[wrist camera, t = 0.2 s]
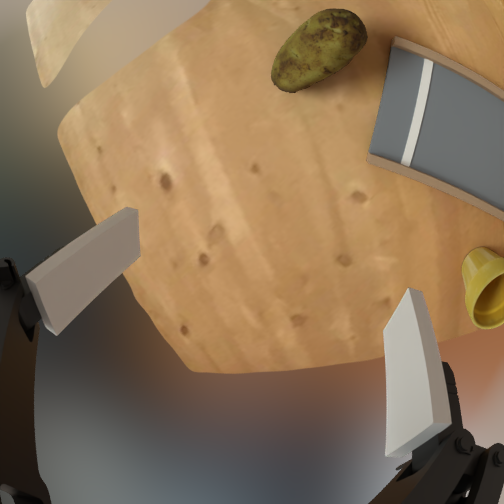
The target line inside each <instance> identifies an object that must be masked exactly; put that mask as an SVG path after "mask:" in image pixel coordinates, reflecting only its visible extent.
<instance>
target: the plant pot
mask: <svg viewBox="0 0 504 504" xmlns="http://www.w3.org/2000/svg"><path fill="white" fill-rule="evenodd" d="M462 276H463V280H464V284H465V289H466V294H465V304H466V308H467V310H468V313H469V315H470V318H471V320H472V322H473V323H474V324H475V325H476V326H477V327H479V328H481V329H492V328H495V327H498V326H500V325H502V324H504V257H500V256H499V255H497V254H496V253H494V252H493V251H491V250H490V249H488V248H486V247H478V248H476V249H474V250H472V251H471V252H470V253H469V254H468V255H467V256H466V258H465V259H464V261H463V264H462Z"/></svg>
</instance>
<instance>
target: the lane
mask: <svg viewBox="0 0 504 504" xmlns="http://www.w3.org/2000/svg"><path fill="white" fill-rule="evenodd" d="M366 160H367V162H368V163H369V164H372V165H375V166H378V167H381V168H384V169H387V170H389V171H392V172H395V173H398V174H400V175H403V176H406V177H408V178H411V179H414V180H416V181H419V182H421V183H424V184H426V185H429V186H431V187H433V188H436V189H438V190H440V191H443V192H445V193H447V194H450V195H452V196H454V197H456V198H458V199H461V200H463V201H465V202H467V203H469V204H471V205H473V206H475V207H477V208H479V209H481V210H483V211H485V212H487V213H489V214H491V215H493V216H495V217H497V218H498V219H500V220H502V221H504V91H503V90H502V89H501V88H499V87H498V86H496V85H495V84H493V83H491V82H490V81H488V80H487V79H485V78H483V77H482V76H480V75H478V74H477V73H475V72H473V71H472V70H470V69H468V68H466V67H464V66H463V65H461V64H459V63H457V62H455V61H453V60H451V59H449V58H447V57H445V56H443V55H441V54H439V53H437V52H434V51H432V50H430V49H428V48H425V47H423V46H421V45H418V44H416V43H413V42H411V41H408V40H406V39H403V38H400V37H397V36H395V37H394V38H393V40H392V44H391V50H390V56H389V62H388V67H387V73H386V78H385V83H384V88H383V93H382V98H381V102H380V107H379V111H378V116H377V120H376V124H375V128H374V132H373V136H372V140H371V144H370V148H369V152H368V155H367V159H366Z"/></svg>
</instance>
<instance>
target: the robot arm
mask: <svg viewBox="0 0 504 504" xmlns="http://www.w3.org/2000/svg"><path fill="white" fill-rule="evenodd" d="M139 257H140V241H139V220H138V210H137V209H133V208H129V207H125V208H124V209H122V210H120V211H119V212H117V213H115V214H114V215H112V216H111V217H109V218H107V219H106V220H104V221H103V222H101V223H99V224H98V225H96V226H95V227H93V228H92V229H90V230H89V231H87V232H86V233H84V234H83V235H81V236H80V237H78V238H77V239H75V240H74V241H72V242H71V243H69V244H68V245H66V246H63V247H61V248H59V249H57V250H56V251H54V252H53V253H51V254H50V256H47V257H46V258H45V259H44V260H42V261H40V262H39V263H38V264H36V265H35V266H34V267H32V268H31V269H30V270H29V271H27V272H26V273H25V274H23V275H22V276H21V277H19V274H18V271H17V268H16V266H15V262H14V260H13V259H12V258H2V259H0V490H2V491H5V492H7V493H9V494H10V495H11V496H12V498H13V499H14V502H15V504H51V500H50V495H49V492H48V489H47V486H46V484H45V483H44V482H43V480H42V479H41V477H40V474H39V470H38V463H37V454H36V443H35V428H34V381H35V364H36V354H37V345H38V337H39V336H38V335H39V329H40V328H39V323H38V321H39V320H40V319H41V318H42V320H43V322H44V324H45V326H46V328H47V329H48V330H50V331H51V332H53V333H54V334H55V335H58V334H59V333H60V332H61V331H62V330H63V329H64V328H65V327H66V326H67V325H68V324H69V323H70V322H71V321H72V320H73V319H74V318H75V317H76V316H77V315H78V314H79V313H80V312H81V311H82V310H83V309H84V308H85V307H86V306H87V305H88V304H89V303H90V302H91V301H92V300H93V299H94V298H95V297H96V296H97V295H99V294H100V292H102V291H103V290H104V289H105V288H106V287H107V286H108V285H109V284H110V283H111V282H112V281H114V280H115V279H116V278H117V277H118V276H119V275H120V274H121V273H122V272H123V271H125V270H126V269H127V268H128V267H129V266H130V265H131V264H132V263H133V262H135V261H136V260H137V259H138V258H139ZM383 335H384V348H385V362H386V387H387V427H386V451H385V456H388V457H404V456H405V455H407V454H409V453H410V452H412V459H411V460H409V461H407V462H405V463H404V464H402V465H400V466H399V467H397V468H396V470H399V469H401V468H402V469H401V470H400V471H399V472H398V474H397V475H396V476H395V477H394V478H393V479H392V480H391V481H390V483H388V485H386V487H385V488H384V489H383V490H382V491H381V492H380V493H379V494H378V495H377V496H376V497H375V498H374V499H373V500H372V501H371V502H369V503H368V504H498V502H499V498H500V495H501V491H502V488H503V484H504V445H503V444H500V443H496V444H494V445H492V446H491V447H489V448H488V449H486V448H483V447H480V446H478V445H476V444H475V441H474V437H473V436H472V434H471V433H470V432H469V431H468V430H466V429H463V424H462V417H461V410H460V404H459V398H458V395H457V388H456V386H455V385H456V383H455V378H454V374H453V371H452V370H451V368H450V366H449V364H448V363H447V362H442V361H441V357H440V353H439V349H438V345H437V341H436V337H435V333H434V329H433V326H432V322H431V319H430V315H429V312H428V308H427V305H426V302H425V299H424V296H423V293H422V291H419V290H416V289H412V288H409V287H408V289H407V291H406V293H405V294H404V296H403V298H402V300H401V301H400V303H399V305H398V307H397V308H396V310H395V312H394V314H393V315H392V317H391V319H390V320H389V322H388V323H387V325H386V327H385V328H384V330H383ZM469 490H470V491H469ZM467 491H469V494H468V497H465V496H466V492H467ZM0 504H2V502H1V497H0Z"/></svg>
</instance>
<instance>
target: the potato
mask: <svg viewBox="0 0 504 504" xmlns="http://www.w3.org/2000/svg"><path fill="white" fill-rule="evenodd" d="M366 41H367V32H366V28H365V26H364V24H363V22H362V21H361V20H360V18H359V17H358V16H357V15H356V14H354V13H353V12H351V11H349V10H345V9H326V10H323V11H320V12H318V13H316V14H314V15H313V16H312V17H311V18H310V19H308V20H307V21H306V22H305V23H303V24H302V25H301V26H300V27H299V28H298V29H297V30H296V31H295V32H294V33H293V34H292V35H291V37H290V38H289V39H288V40H287V41H286V42H285V44H284V45H283V46H282V47H281V49H280V50H279V52H278V54H277V56H276V58H275V60H274V64H273V67H272V72H271V78H272V81H273V83H274V85H276V86H277V87H278V88H279V89H280V90H282V91H285V92H289V93H296V92H297V91H299V90H302V89H305V88H308V87H309V86H311V85H312V84H314V83H317V82H319V81H321V80H324V78H326V77H328V76H330V75H332V74H333V73H335V72H337V71H338V70H340V69H342V68H343V67H344V66H346V65H347V64H348V63H349V62H350V61H351V60H352V58H353V57H354V56H355V55H356V54H357V53H358V52H359V51H360V50H361V49H362V48H363V46H364V45H365V43H366Z"/></svg>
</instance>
